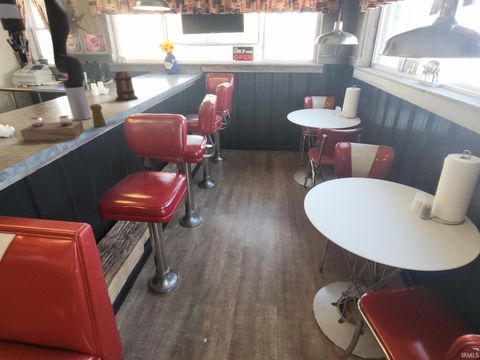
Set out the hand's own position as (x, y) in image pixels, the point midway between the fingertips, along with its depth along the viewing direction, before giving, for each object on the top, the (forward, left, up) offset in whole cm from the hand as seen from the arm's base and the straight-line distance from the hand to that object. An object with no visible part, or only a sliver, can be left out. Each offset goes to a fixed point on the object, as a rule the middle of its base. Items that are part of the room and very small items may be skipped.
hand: (25, 62), depth 124 cm
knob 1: (+10, +2, -29) cm, 30 cm away
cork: (-6, +23, -31) cm, 39 cm away
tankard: (-91, +21, -31) cm, 98 cm away
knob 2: (+10, +14, -29) cm, 33 cm away
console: (+10, +8, -31) cm, 34 cm away
